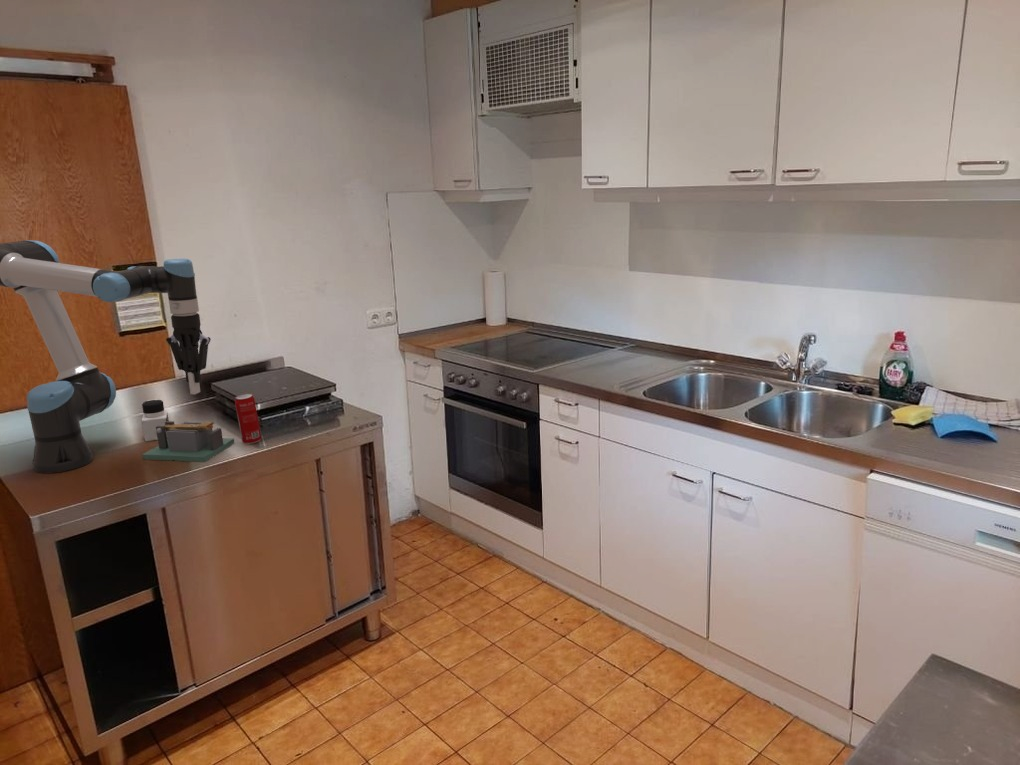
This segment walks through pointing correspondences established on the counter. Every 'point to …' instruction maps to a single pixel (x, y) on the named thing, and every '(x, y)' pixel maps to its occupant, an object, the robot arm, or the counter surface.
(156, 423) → the medicine bottle
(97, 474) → the counter surface
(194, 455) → the board
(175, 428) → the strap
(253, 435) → the beverage can
